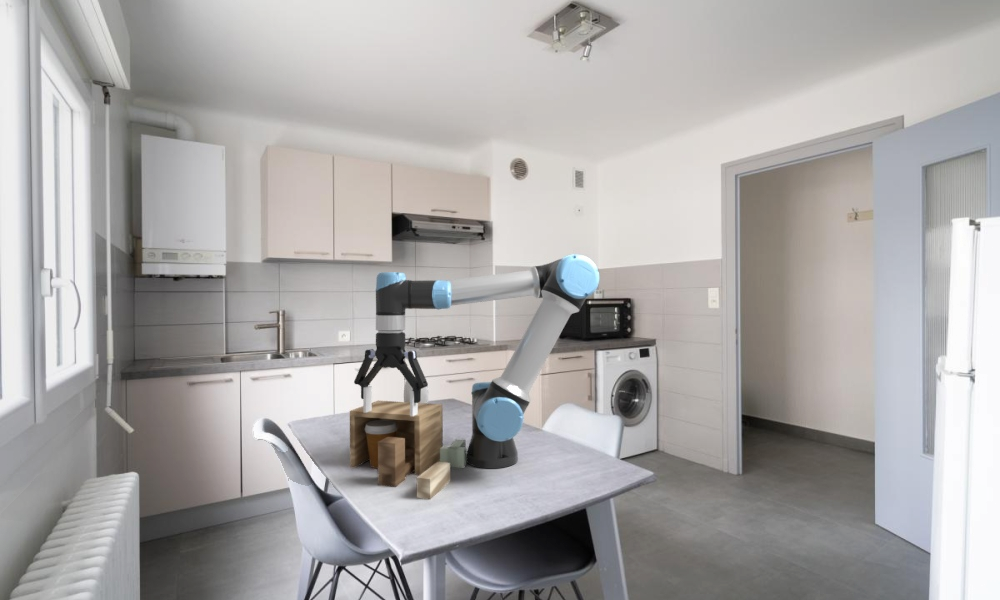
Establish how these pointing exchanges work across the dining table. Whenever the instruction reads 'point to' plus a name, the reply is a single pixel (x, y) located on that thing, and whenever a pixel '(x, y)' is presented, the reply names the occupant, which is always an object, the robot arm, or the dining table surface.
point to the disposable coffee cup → (378, 436)
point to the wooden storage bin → (400, 431)
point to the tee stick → (454, 453)
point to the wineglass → (407, 389)
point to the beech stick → (433, 480)
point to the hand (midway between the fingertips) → (390, 413)
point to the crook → (394, 461)
